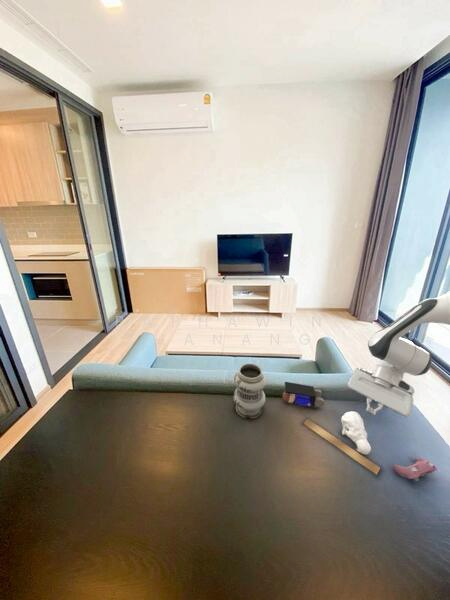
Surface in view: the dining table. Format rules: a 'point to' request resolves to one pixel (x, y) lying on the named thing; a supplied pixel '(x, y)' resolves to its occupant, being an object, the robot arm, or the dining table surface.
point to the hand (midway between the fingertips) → (370, 413)
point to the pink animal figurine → (416, 469)
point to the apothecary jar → (249, 390)
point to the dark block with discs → (302, 395)
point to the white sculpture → (356, 431)
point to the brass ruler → (343, 447)
